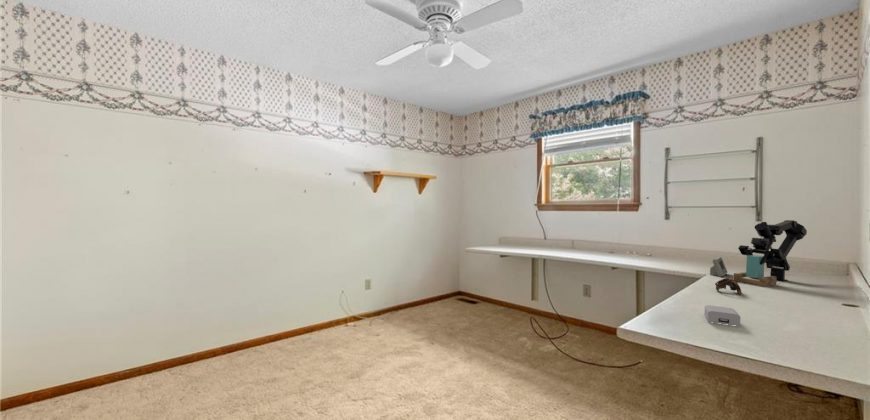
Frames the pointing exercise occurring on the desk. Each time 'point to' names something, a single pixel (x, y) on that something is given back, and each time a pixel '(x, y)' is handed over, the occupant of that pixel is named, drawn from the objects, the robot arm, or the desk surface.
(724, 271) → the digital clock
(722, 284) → the brown curved arch
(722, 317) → the charger
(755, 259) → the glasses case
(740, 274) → the display stand
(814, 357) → the desk surface
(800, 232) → the robot arm
